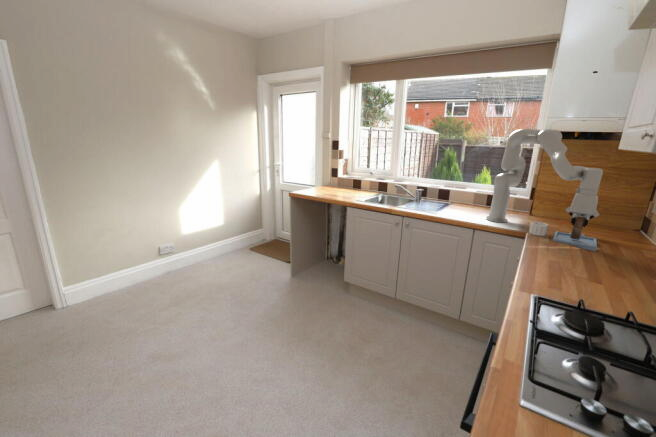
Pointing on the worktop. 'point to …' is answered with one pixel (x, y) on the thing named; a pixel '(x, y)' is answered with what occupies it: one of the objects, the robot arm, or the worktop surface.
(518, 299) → the worktop surface
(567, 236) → the tray
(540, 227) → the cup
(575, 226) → the dowel
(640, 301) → the worktop surface
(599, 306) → the worktop surface
